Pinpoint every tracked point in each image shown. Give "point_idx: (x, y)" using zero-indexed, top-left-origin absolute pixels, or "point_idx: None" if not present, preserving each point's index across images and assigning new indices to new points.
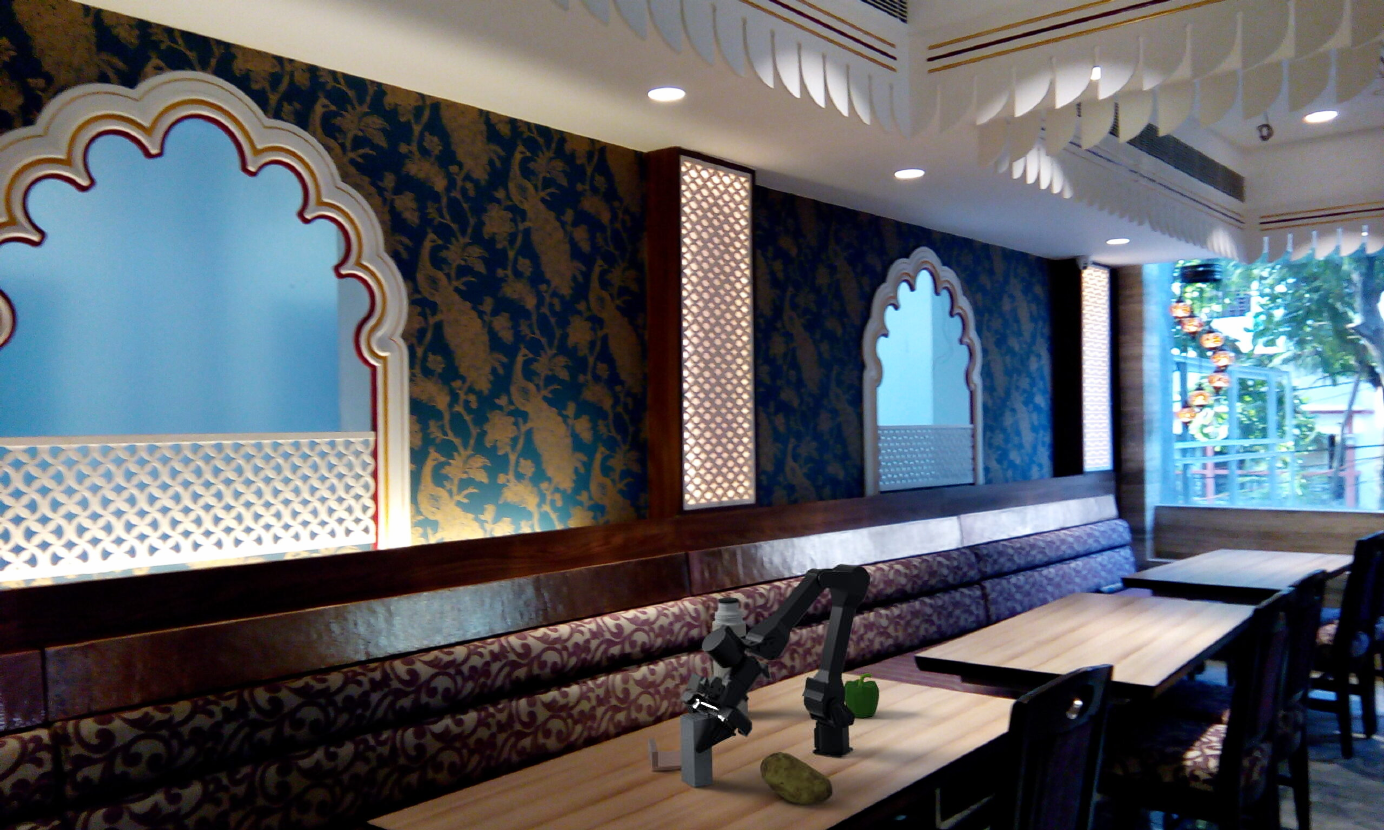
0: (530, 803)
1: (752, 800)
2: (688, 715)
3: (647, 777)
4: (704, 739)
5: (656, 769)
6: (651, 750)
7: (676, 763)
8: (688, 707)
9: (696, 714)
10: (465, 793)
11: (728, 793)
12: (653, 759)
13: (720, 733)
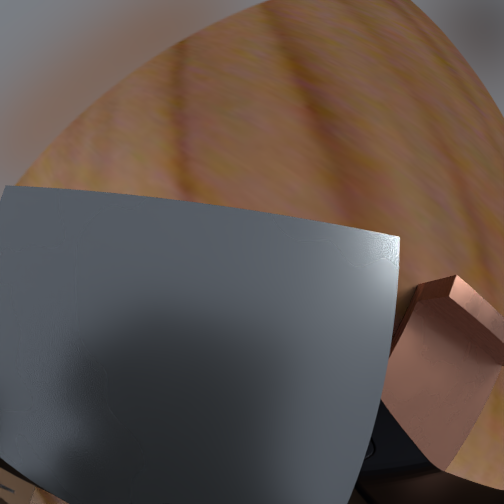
0: (354, 17)
1: None
2: (290, 363)
3: None
4: None
5: (415, 296)
6: (470, 288)
7: (404, 371)
8: (500, 497)
9: (233, 500)
10: (431, 22)
11: None
12: (438, 283)
13: None
